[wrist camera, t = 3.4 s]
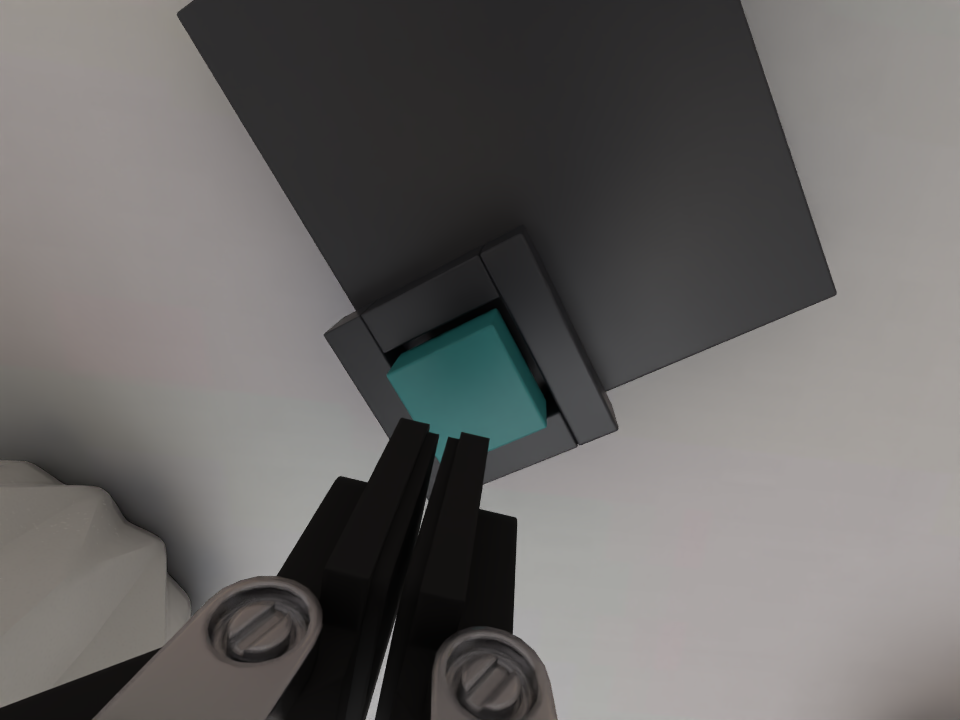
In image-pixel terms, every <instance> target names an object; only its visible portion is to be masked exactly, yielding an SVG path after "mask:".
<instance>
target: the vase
mask: <svg viewBox="0 0 960 720" xmlns="http://www.w3.org/2000/svg"><path fill="white" fill-rule="evenodd" d="M190 618H191V602H190V600H189V597H188V595H187V594H186V593H185V592H184V590H183V589H182V588H181V587H180V586H179V585H178V584H177V583H176V582H175V581H174V580H173V578H172V577H171V576H170V575H169V574H168V573H167V557H166V548H165V544H164V542H163V541H162V540H161V539H160V538H159V537H158V536H156V535H154V534H152V533H151V532H149V531H147V530H145V529H142V528H140V527H138V526H136V525H134V524H132V523H130V522H128V521H127V520H126V519H125V518H124V516H123V515H122V513H121V511H120V510H119V508H118V506H117V505H116V503H115V502H114V500H113V499H112V498H111V496H110V495H109V493H108V492H106V491H105V490H103V489H102V488H100V487H97V486H85V485H65V484H63V483H62V482H60V481H59V480H57V479H56V478H54V477H53V476H52V475H50V474H49V473H47V472H46V471H44V470H43V469H41V468H40V467H38V466H37V465H35V464H33V463H30V462H27V461H16V460H0V708H1V707H4V706H6V705H9V704H12V703H14V702H17V701H20V700H22V699H25V698H28V697H30V696H33V695H36V694H38V693H41V692H44V691H46V690H49V689H52V688H54V687H57V686H60V685H62V684H65V683H68V682H70V681H73V680H76V679H78V678H81V677H84V676H86V675H89V674H92V673H94V672H97V671H100V670H102V669H105V668H108V667H110V666H113V665H116V664H118V663H121V662H124V661H126V660H129V659H131V658H134V657H137V656H139V655H142V654H145V653H147V652H150V651H153V650H155V649H158V648H161V647H163V646H164V645H165V644H166V643H167V642H168V641H169V640H170V639H171V638H172V637H173V636H174V635H175V634H176V633H177V632H178V630H179V629H180V628H181V627H182V626H183V625H184V624H185V623H186V622H187V621H188V620H189V619H190Z"/></svg>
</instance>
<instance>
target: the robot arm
mask: <svg viewBox="0 0 960 720" xmlns="http://www.w3.org/2000/svg"><path fill="white" fill-rule="evenodd" d="M429 429H430V424H427V423H423V422H418V421H414V420H410V419H406V418H401V419H400V420H399V422H398V424H397V426H396V428H395V430H394V432H393V434H392V436H391V438H390V440H389V442H388V444H387V446H386V448H385V450H384V452H383V454H382V456H381V457H380V459H379V461H378V463H377V465H376V467H375V469H374V471H373V473H372V475H371V477H370V479H369V481H368V482H363V481H359V480H355V479H351V478H346V477H342V476H340V477H338V478H337V479H336V480H335V482H334V483H333V485H332V487H331V488H330V490H329V491H328V493H327V495H326V496H325V498H324V500H323V501H322V503H321V504H320V506H319V508H318V509H317V511H316V513H315V514H314V516H313V517H312V519H311V521H310V522H309V524H308V526H307V527H306V529H305V531H304V532H303V534H302V535H301V537H300V539H299V540H298V542H297V544H296V545H295V547H294V548H293V550H292V552H291V553H290V555H289V557H288V558H287V560H286V562H285V563H284V565H283V566H282V568H281V570H280V571H279V573H278V575H277V576H257V577H253V578H249V579H244V580H240V581H238V582H236V583H234V584H231V585H229V586H227V587H225V588H223V589H222V590H220V591H219V592H218V593H216V594H215V595H214V596H213V597H211V598H210V599H209V600H208V601H207V602H206V603H205V604H204V605H203V606H202V607H201V608H200V609H199V610H198V611H197V612H196V613H195V614H194V615H193V616H192V617H191V618H190V619H189V620H188V621H187V622H186V623H185V624H184V625H183V626H182V627H181V628H180V629H179V630H178V632H177V633H176V634H175V635H174V636H173V637H172V638H171V639H170V640H169V641H168V642H167V643H166V644H165V645H164V646H163V647H161V648H158V649H155V650H153V651H150V652H147V653H145V654H142V655H139V656H137V657H134V658H131V659H129V660H126V661H124V662H121V663H118V664H116V665H113V666H110V667H108V668H105V669H102V670H100V671H97V672H94V673H92V674H89V675H86V676H84V677H81V678H78V679H76V680H73V681H70V682H68V683H65V684H62V685H60V686H57V687H54V688H52V689H49V690H46V691H44V692H41V693H38V694H36V695H33V696H30V697H28V698H25V699H22V700H20V701H17V702H14V703H12V704H9V705H6V706H4V707H1V708H0V720H365V719H366V716H367V713H368V709H369V706H370V702H371V699H372V696H373V692H374V689H375V686H376V682H377V679H378V676H379V672H380V669H381V666H382V662H383V659H384V655H385V652H386V649H387V645H388V642H389V639H390V635H391V632H392V629H393V625H394V622H395V626H394V631H393V635H392V640H391V645H390V650H389V655H388V659H387V664H386V669H385V674H384V679H383V683H382V688H381V693H380V698H379V702H378V707H377V712H376V717H375V720H558V719H557V714H556V709H555V704H554V698H553V693H552V688H551V683H550V680H549V677H548V674H547V671H546V668H545V665H544V664H543V662H542V661H541V660H540V658H539V657H538V655H537V654H536V652H535V651H534V650H533V649H532V648H531V647H530V646H528V645H527V644H526V643H525V642H524V641H523V640H522V639H520V638H518V637H516V636H515V635H513V614H514V589H515V565H516V541H517V519H516V518H515V517H511V516H507V515H503V514H499V513H494V512H490V511H486V510H482V509H479V506H480V500H481V493H482V487H483V480H484V473H485V467H486V460H487V454H488V447H489V440H490V438H486V437H482V436H478V435H474V434H469V433H465V432H461V435H460V439H457V438H452V437H448V439H447V442H446V446H445V449H444V452H443V455H442V459H441V462H440V465H439V469H438V472H437V475H436V479H435V482H434V485H433V488H432V492H431V495H430V498H429V502H428V505H427V508H426V512H425V515H424V518H423V521H422V525H421V528H420V524H421V520H422V515H423V510H424V506H425V501H426V496H427V492H428V487H429V482H430V477H431V473H432V468H433V463H434V459H435V454H436V449H437V445H438V440H439V434H435V433H431V432H429ZM419 529H420V531H419ZM418 534H419V535H418ZM396 615H397V616H396ZM395 619H396V621H395Z"/></svg>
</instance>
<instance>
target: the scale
mask: <svg viewBox="0 0 960 720" xmlns="http://www.w3.org/2000/svg"><path fill="white" fill-rule="evenodd" d="M177 16H178V18H179V20H180V21H181V23H182V25H183V26H184V28H185V30H186V31H187V33H188V34H189V36H190V38H191V39H192V41H193V43H194V44H195V46H196V48H197V49H198V51H199V53H200V54H201V56H202V58H203V59H204V61H205V62H206V64H207V66H208V67H209V69H210V71H211V72H212V74H213V76H214V77H215V79H216V81H217V82H218V84H219V86H220V87H221V89H222V90H223V92H224V94H225V95H226V97H227V99H228V100H229V102H230V104H231V105H232V107H233V109H234V110H235V112H236V114H237V115H238V117H239V118H240V120H241V122H242V123H243V125H244V127H245V128H246V130H247V132H248V133H249V135H250V137H251V138H252V140H253V142H254V143H255V145H256V146H257V148H258V150H259V151H260V153H261V155H262V156H263V158H264V160H265V161H266V163H267V165H268V166H269V168H270V170H271V171H272V173H273V174H274V176H275V178H276V179H277V181H278V183H279V184H280V186H281V188H282V189H283V191H284V193H285V194H286V196H287V198H288V199H289V201H290V202H291V204H292V206H293V207H294V209H295V211H296V212H297V214H298V216H299V217H300V219H301V221H302V222H303V224H304V226H305V227H306V229H307V231H308V232H309V234H310V235H311V237H312V239H313V240H314V242H315V244H316V245H317V247H318V249H319V250H320V252H321V254H322V255H323V257H324V259H325V260H326V262H327V263H328V265H329V267H330V268H331V270H332V272H333V273H334V275H335V277H336V278H337V280H338V282H339V283H340V285H341V287H342V288H343V290H344V291H345V293H346V295H347V296H348V298H349V300H350V301H351V303H352V305H353V306H354V308H355V310H356V311H355V312H353V313H351V314H349V315H347V316H345V317H344V318H342V319H341V320H340V321H339V322H338V323H336V324H335V325H334V326H333V327H332V328H330V329H329V330H328V331H327V332H326V333H325V334H324V337H325V338H326V340H327V341H328V343H329V344H330V346H331V348H332V349H333V351H334V352H335V354H336V355H337V357H338V359H339V360H340V362H341V363H342V365H343V367H344V368H345V370H346V371H347V373H348V374H349V376H350V378H351V379H352V381H353V382H354V384H355V385H356V387H357V389H358V390H359V392H360V393H361V395H362V396H363V398H364V400H365V401H366V403H367V404H368V406H369V408H370V409H371V411H372V412H373V414H374V415H375V417H376V419H377V420H378V422H379V423H380V425H381V426H382V428H383V430H384V431H385V433H386V434H387V436H388V437H389V439H390V438H391V436H392V434H393V432H394V430H395V428H396V426H397V424H398V422H399V420H400V419H401V418H406V419H410V420H413V419H412V417H411V415H410V414H409V412H408V411H407V409H406V407H405V406H404V404H403V402H402V401H401V399H400V398H399V396H398V394H397V393H396V391H395V389H394V388H393V386H392V384H391V383H390V381H389V380H388V378H387V373H388V372H389V370H390V369H391V367H392V366H393V364H394V363H395V362H396V360H397V359H398V357H399V356H400V354H402V353H404V352H406V351H408V350H410V349H412V348H414V347H416V346H418V345H420V344H422V343H424V342H426V341H428V340H430V339H432V338H434V337H437V336H439V335H441V334H443V333H445V332H447V331H449V330H451V329H453V328H455V327H457V326H459V325H461V324H463V323H465V322H467V321H469V320H472V319H474V318H476V317H478V316H480V315H482V314H484V313H486V312H488V311H490V310H492V309H495V308H497V309H498V310H499V312H500V314H501V316H502V318H503V320H504V322H505V324H506V326H507V327H508V329H509V331H510V333H511V335H512V337H513V339H514V341H515V343H516V345H517V346H518V348H519V350H520V352H521V354H522V356H523V358H524V360H525V362H526V364H527V365H528V367H529V369H530V371H531V373H532V375H533V377H534V379H535V381H536V383H537V384H538V386H539V388H540V390H541V392H542V394H543V396H544V398H545V400H546V414H547V427H546V428H544V429H542V430H540V431H537V432H535V433H532V434H530V435H527V436H525V437H523V438H520V439H518V440H515V441H513V442H511V443H508V444H506V445H503V446H501V447H498V448H496V449H494V450H491V451H489V452H488V454H487V460H486V467H485V473H484V480H483V484H486V483H488V482H491V481H493V480H496V479H498V478H501V477H503V476H506V475H508V474H511V473H513V472H516V471H518V470H521V469H523V468H526V467H528V466H531V465H533V464H536V463H538V462H541V461H544V460H546V459H549V458H551V457H554V456H556V455H559V454H561V453H564V452H566V451H569V450H571V449H574V448H576V447H577V446H578V444H579V445H583V444H585V443H588V442H590V441H593V440H595V439H598V438H600V437H603V436H605V435H608V434H610V433H613V432H615V431H617V430H618V424H617V421H616V417H615V414H614V411H613V407H612V404H611V402H610V400H609V398H608V396H607V394H606V391H609V390H611V389H613V388H616V387H618V386H621V385H623V384H625V383H628V382H630V381H632V380H635V379H637V378H640V377H642V376H644V375H647V374H649V373H652V372H654V371H656V370H659V369H661V368H663V367H666V366H668V365H671V364H673V363H675V362H678V361H680V360H682V359H685V358H687V357H690V356H692V355H694V354H697V353H699V352H702V351H704V350H706V349H709V348H711V347H713V346H716V345H718V344H721V343H723V342H725V341H728V340H730V339H733V338H735V337H737V336H740V335H742V334H744V333H747V332H749V331H752V330H754V329H756V328H759V327H761V326H764V325H766V324H768V323H771V322H773V321H775V320H778V319H780V318H783V317H785V316H787V315H790V314H792V313H795V312H797V311H799V310H802V309H804V308H806V307H809V306H811V305H814V304H816V303H818V302H821V301H823V300H826V299H828V298H830V297H833V296H835V295H836V293H837V292H836V289H835V286H834V283H833V280H832V277H831V274H830V271H829V268H828V265H827V262H826V259H825V256H824V253H823V250H822V247H821V243H820V240H819V237H818V234H817V231H816V228H815V225H814V222H813V219H812V216H811V213H810V210H809V207H808V204H807V201H806V198H805V195H804V192H803V189H802V186H801V183H800V180H799V177H798V174H797V171H796V168H795V165H794V162H793V159H792V156H791V153H790V150H789V147H788V144H787V141H786V138H785V135H784V132H783V129H782V125H781V122H780V119H779V116H778V113H777V110H776V107H775V104H774V101H773V98H772V95H771V92H770V89H769V86H768V83H767V80H766V77H765V74H764V71H763V68H762V65H761V62H760V59H759V56H758V53H757V50H756V47H755V44H754V41H753V38H752V35H751V32H750V29H749V26H748V23H747V20H746V17H745V14H744V11H743V7H742V4H741V1H740V0H193V1H192V2H191V3H189V4H188V5H187V6H185V7H184V8H183V9H181V10H180V11H179V12H178V13H177ZM439 465H440V463H439V461H438V460H437V458H436V456H435V459H434V463H433V468H432V473H431V477H430V482H429V487H428V492H427V496H426V497H427V499H428V501H429V498H430V495H431V492H432V488H433V485H434V482H435V479H436V475H437V472H438V469H439Z"/></svg>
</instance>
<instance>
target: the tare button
mask: <svg viewBox="0 0 960 720" xmlns="http://www.w3.org/2000/svg"><path fill="white" fill-rule="evenodd" d="M387 378H388V380H389V381H390V383H391V384H392V386H393V388H394V389H395V391H396V393H397V394H398V396H399V398H400V399H401V401H402V402H403V404H404V406H405V407H406V409H407V411H408V412H409V414H410V415H411V417H412V419H413V420H414V421H418V422H423V423H427V424H430V429H429V432H431V433H435V434H439V440H438V445H437V449H436V454H435V456H436V458H437V460H438V461H439V463H440V462H441V459H442V455H443V452H444V449H445V446H446V442H447V439H448V437H452V438H457V439H460V435H461V432H465V433H469V434H474V435H478V436H482V437H486V438H490V440H489V447H488V452H489V451H491V450H494V449H496V448H498V447H501V446H503V445H506V444H508V443H511V442H513V441H515V440H518V439H520V438H523V437H525V436H527V435H530V434H532V433H535V432H537V431H540V430H542V429H544V428H546V427H547V414H546V400H545V398H544V396H543V394H542V392H541V390H540V388H539V386H538V384H537V383H536V381H535V379H534V377H533V375H532V373H531V371H530V369H529V367H528V365H527V364H526V362H525V360H524V358H523V356H522V354H521V352H520V350H519V348H518V346H517V345H516V343H515V341H514V339H513V337H512V335H511V333H510V331H509V329H508V327H507V326H506V324H505V322H504V320H503V318H502V316H501V314H500V312H499V310H498V309H497V308H495V309H492V310H490V311H488V312H486V313H484V314H482V315H480V316H478V317H476V318H474V319H472V320H469V321H467V322H465V323H463V324H461V325H459V326H457V327H455V328H453V329H451V330H449V331H447V332H445V333H443V334H441V335H439V336H437V337H434V338H432V339H430V340H428V341H426V342H424V343H422V344H420V345H418V346H416V347H414V348H412V349H410V350H408V351H406V352H404V353H402V354H400V356H399V357H398V359H397V360H396V362H395V363H394V364H393V366H392V367H391V369H390V370H389V372H388V373H387Z"/></svg>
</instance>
